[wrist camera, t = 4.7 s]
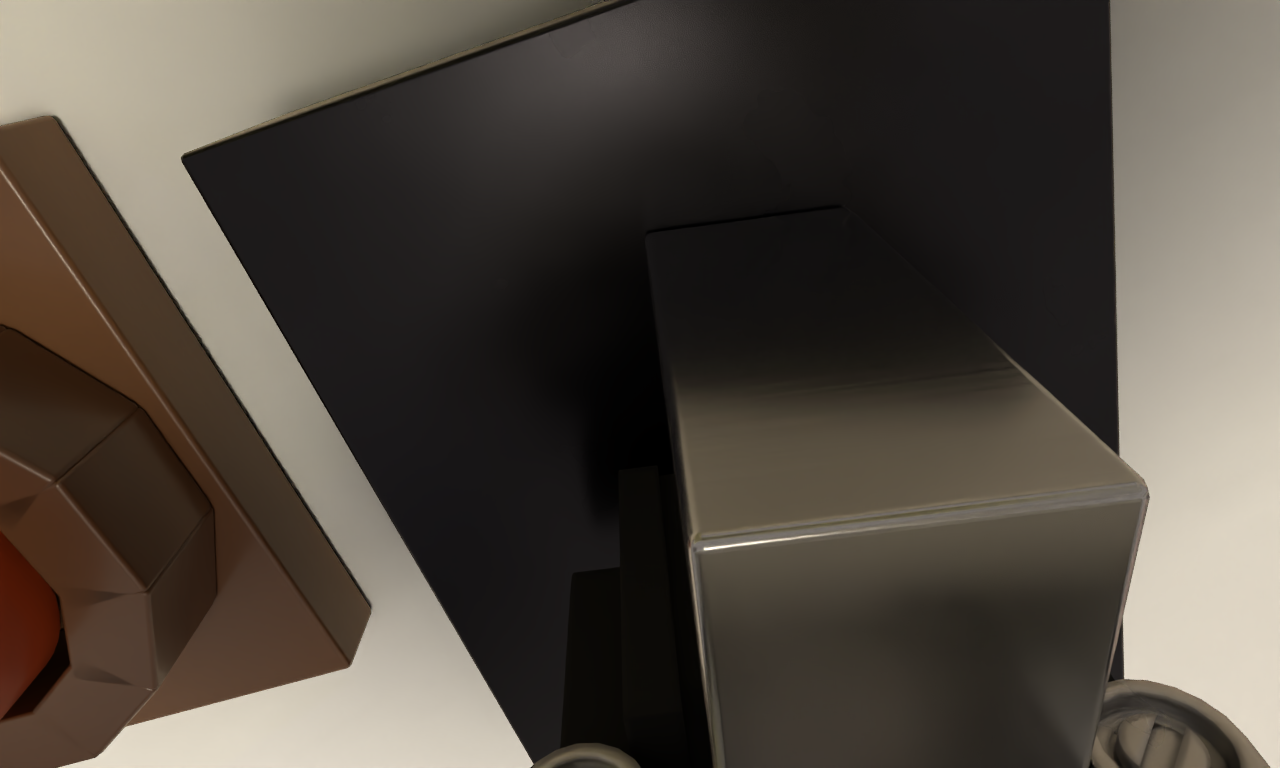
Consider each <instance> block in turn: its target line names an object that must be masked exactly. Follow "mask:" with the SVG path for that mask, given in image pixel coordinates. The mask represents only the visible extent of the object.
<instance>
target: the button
mask: <svg viewBox="0 0 1280 768" xmlns="http://www.w3.org/2000/svg"><path fill="white" fill-rule="evenodd" d="M60 626H61V622H60V610H59V606H58V602H57V598H56V595H55V592H54V590H53V589H52V588H51V587H50V586H49V585H48V584H47V582H46V581H45V580H44V579H43V578H42V577H41V576H40V575H39V574H38V572H37V571H36V570H35V569H34V568H33V567H32V566H31V565H30V563H29V562H28V561H27V560H26V559H25V558H24V557H23V556H22V555H21V553H20V552H19V551H18V550H17V549H16V548H15V547H14V546H13V544H12V543H11V542H10V541H9V540H8V539H7V538H6V537H5V536H4V534H3V533H2V532H1V531H0V720H1V719H2V718H3V716H4V715H5V714H6V713H7V712H8V710H9V709H10V708H11V707H12V706H13V704H14V703H15V702H16V701H17V700H18V698H19V697H20V696H21V695H22V694H23V692H24V691H25V690H26V689H27V688H28V686H29V685H30V684H31V683H32V682H33V680H34V679H35V678H36V677H37V676H38V674H39V673H40V672H41V671H42V670H43V668H44V667H45V666H46V665H47V663H48V662H49V660H50V658H51V657H52V655H53V654H54V651H55V648H56V646H57V643H58V640H59V633H60Z"/></svg>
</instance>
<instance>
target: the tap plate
mask: <svg viewBox="0 0 1280 768" xmlns="http://www.w3.org/2000/svg"><path fill="white" fill-rule="evenodd" d="M181 161H182V163H183V165H184V167H185V168H186V170H187V172H188V173H189V175H190V177H191V178H192V180H193V182H194V184H195V185H196V187H197V189H198V190H199V192H200V194H201V196H202V197H203V199H204V201H205V202H206V204H207V206H208V208H209V209H210V211H211V213H212V214H213V216H214V218H215V220H216V221H217V223H218V225H219V226H220V228H221V230H222V232H223V233H224V235H225V237H226V238H227V240H228V242H229V243H230V245H231V247H232V249H233V250H234V252H235V254H236V255H237V257H238V259H239V261H240V262H241V264H242V266H243V267H244V269H245V271H246V273H247V274H248V276H249V278H250V279H251V281H252V283H253V285H254V286H255V288H256V290H257V291H258V293H259V295H260V297H261V298H262V300H263V302H264V303H265V305H266V307H267V308H268V310H269V312H270V314H271V315H272V317H273V319H274V320H275V322H276V324H277V326H278V327H279V329H280V331H281V332H282V334H283V336H284V338H285V339H286V341H287V343H288V344H289V346H290V348H291V350H292V351H293V353H294V355H295V356H296V358H297V360H298V362H299V363H300V365H301V367H302V368H303V370H304V372H305V373H306V375H307V377H308V379H309V380H310V382H311V384H312V385H313V387H314V389H315V391H316V392H317V394H318V396H319V397H320V399H321V401H322V403H323V404H324V406H325V408H326V409H327V411H328V413H329V415H330V416H331V418H332V420H333V421H334V423H335V425H336V427H337V428H338V430H339V432H340V433H341V435H342V437H343V438H344V440H345V442H346V444H347V445H348V447H349V449H350V450H351V452H352V454H353V456H354V457H355V459H356V461H357V462H358V464H359V466H360V468H361V469H362V471H363V473H364V474H365V476H366V478H367V480H368V481H369V483H370V485H371V486H372V488H373V490H374V492H375V493H376V495H377V497H378V498H379V500H380V502H381V503H382V505H383V507H384V509H385V510H386V512H387V514H388V515H389V517H390V519H391V521H392V522H393V524H394V526H395V527H396V529H397V531H398V533H399V534H400V536H401V538H402V539H403V541H404V543H405V545H406V546H407V548H408V550H409V551H410V553H411V555H412V557H413V558H414V560H415V562H416V563H417V565H418V567H419V568H420V570H421V572H422V574H423V575H424V577H425V579H426V580H427V582H428V584H429V586H430V587H431V589H432V591H433V592H434V594H435V596H436V598H437V599H438V601H439V603H440V604H441V606H442V608H443V610H444V611H445V613H446V615H447V616H448V618H449V620H450V621H451V623H452V625H453V627H454V628H455V630H456V632H457V633H458V635H459V637H460V639H461V640H462V642H463V644H464V645H465V647H466V649H467V651H468V652H469V654H470V656H471V657H472V659H473V661H474V663H475V664H476V666H477V668H478V669H479V671H480V673H481V675H482V676H483V678H484V680H485V681H486V683H487V685H488V686H489V688H490V690H491V692H492V693H493V695H494V697H495V698H496V700H497V702H498V704H499V705H500V707H501V709H502V710H503V712H504V714H505V716H506V717H507V719H508V721H509V722H510V724H511V726H512V728H513V729H514V731H515V733H516V734H517V736H518V738H519V740H520V741H521V743H522V745H523V746H524V748H525V750H526V751H527V753H528V755H529V757H530V758H531V760H532V762H533V763H534V764H535V763H536V762H537V761H539V760H540V759H542V758H544V757H545V756H547V755H548V754H550V753H552V752H553V751H555V750H557V749H560V743H561V728H562V712H563V697H564V681H565V666H566V651H567V635H568V620H569V604H570V589H571V579H572V575H573V573H575V572H583V571H591V570H599V569H607V568H615V567H620V537H619V482H618V471H619V470H623V469H631V468H639V467H647V466H655V465H657V466H658V471H659V475H667V474H674V470H673V462H672V454H671V446H670V438H669V430H668V422H667V414H666V407H665V399H664V391H663V383H662V375H661V367H660V359H659V352H658V344H657V336H656V328H655V320H654V312H653V304H652V296H651V289H650V281H649V273H648V265H647V257H646V249H645V238H646V236H647V235H648V234H650V233H653V232H660V231H668V230H675V229H683V228H690V227H697V226H705V225H712V224H720V223H727V222H735V221H742V220H750V219H757V218H765V217H772V216H780V215H787V214H795V213H802V212H810V211H817V210H825V209H832V208H839V207H846V208H850V209H851V210H852V211H853V212H854V213H855V214H856V215H857V216H858V217H860V218H861V219H862V220H863V221H864V222H865V223H866V224H867V225H868V226H869V227H870V228H872V229H873V230H874V231H875V232H876V233H877V234H878V235H879V236H880V237H881V238H882V239H883V240H885V241H886V242H887V243H888V244H889V245H890V246H891V247H892V248H893V249H894V250H895V251H896V252H898V253H899V254H900V255H901V256H902V257H903V258H904V259H905V260H906V261H907V262H908V263H910V264H911V265H912V266H913V267H914V268H915V269H916V270H917V271H918V272H919V273H920V274H921V275H923V276H924V277H925V278H926V279H927V280H928V281H929V282H930V283H931V284H932V285H933V286H934V287H936V288H937V289H938V290H939V291H940V292H941V293H942V294H943V295H944V296H945V297H946V298H948V299H949V300H950V301H951V302H952V303H953V304H954V305H955V306H956V307H957V308H958V309H959V310H961V311H962V312H963V313H964V314H965V315H966V316H967V317H968V318H969V319H970V320H971V321H972V322H974V323H975V324H976V325H977V326H978V327H979V328H980V329H981V330H982V331H983V332H984V333H985V334H987V335H988V336H989V337H990V338H991V339H992V340H993V341H994V342H995V343H996V344H997V345H999V346H1000V347H1001V348H1002V349H1003V350H1004V351H1005V352H1006V353H1007V354H1008V355H1009V356H1010V357H1012V358H1013V359H1014V360H1015V361H1016V362H1017V363H1018V364H1019V365H1020V366H1021V367H1022V368H1023V369H1025V370H1026V371H1027V372H1028V373H1029V374H1030V375H1031V376H1032V377H1033V378H1034V379H1035V380H1037V381H1038V382H1039V383H1040V384H1041V385H1042V386H1043V387H1044V388H1045V389H1046V390H1047V391H1048V392H1050V393H1051V394H1052V395H1053V396H1054V397H1055V398H1056V399H1057V400H1058V401H1059V402H1060V403H1061V404H1063V405H1064V406H1065V407H1066V408H1067V409H1068V410H1069V411H1070V412H1071V413H1072V414H1073V415H1075V416H1076V417H1077V418H1078V419H1079V420H1080V421H1081V422H1082V423H1083V424H1084V425H1085V426H1086V427H1088V428H1089V429H1090V430H1091V431H1092V432H1093V433H1094V434H1095V435H1096V436H1097V437H1098V438H1099V439H1101V440H1102V441H1103V442H1104V443H1105V444H1106V445H1107V446H1108V447H1109V448H1110V449H1111V450H1113V451H1114V452H1115V453H1116V454H1117V455H1118V456H1119V410H1118V361H1117V313H1116V265H1115V217H1114V168H1113V120H1112V72H1111V24H1110V0H607V1H604V2H601V3H599V4H596V5H593V6H590V7H587V8H584V9H582V10H579V11H576V12H573V13H570V14H567V15H565V16H562V17H559V18H556V19H553V20H550V21H548V22H545V23H542V24H539V25H536V26H533V27H531V28H528V29H525V30H522V31H519V32H516V33H514V34H511V35H508V36H505V37H502V38H499V39H497V40H494V41H491V42H488V43H485V44H482V45H480V46H477V47H474V48H471V49H468V50H465V51H463V52H460V53H457V54H454V55H451V56H448V57H446V58H443V59H440V60H437V61H434V62H432V63H429V64H426V65H423V66H420V67H417V68H415V69H412V70H409V71H406V72H403V73H400V74H398V75H395V76H392V77H389V78H386V79H383V80H381V81H378V82H375V83H372V84H369V85H366V86H364V87H361V88H358V89H355V90H352V91H349V92H347V93H344V94H341V95H338V96H335V97H332V98H330V99H327V100H324V101H321V102H318V103H315V104H313V105H310V106H307V107H304V108H301V109H298V110H296V111H293V112H290V113H287V114H284V115H282V116H279V117H276V118H274V119H271V120H269V121H266V122H264V123H261V124H259V125H256V126H253V127H251V128H248V129H246V130H243V131H241V132H238V133H236V134H233V135H230V136H228V137H225V138H223V139H220V140H218V141H215V142H212V143H210V144H207V145H205V146H202V147H200V148H197V149H195V150H192V151H189V152H187V153H184V154H183V156H182V157H181ZM1110 674H1111V675H1112V677H1113V678H1114V679H1115V681H1117V680H1121V679H1124V651H1123V618H1122V622H1121V627H1120V631H1119V635H1118V640H1117V644H1116V649H1115V653H1114V658H1113V662H1112V667H1111V671H1110Z"/></svg>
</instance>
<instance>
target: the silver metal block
mask: <svg viewBox="0 0 1280 768" xmlns="http://www.w3.org/2000/svg"><path fill="white" fill-rule="evenodd" d="M645 249H646V257H647V265H648V273H649V281H650V289H651V296H652V304H653V312H654V320H655V328H656V336H657V344H658V352H659V359H660V367H661V375H662V383H663V391H664V399H665V407H666V414H667V422H668V430H669V438H670V446H671V454H672V462H673V470H674V476H675V484H676V492H677V499H678V507H679V514H680V522H681V529H682V537H683V544H684V552H685V559H686V567H687V575H688V582H689V590H690V597H691V605H692V612H693V620H694V627H695V635H696V642H697V650H698V658H699V665H700V673H701V680H702V688H703V695H704V703H705V711H706V719H707V727H708V734H709V742H710V750H711V758H712V766H713V768H1089V764H1090V760H1091V755H1092V751H1093V746H1094V742H1095V737H1096V733H1097V729H1098V724H1099V720H1100V715H1101V711H1102V706H1103V702H1104V698H1105V693H1106V689H1107V684H1108V680H1109V675H1110V671H1111V667H1112V662H1113V658H1114V653H1115V649H1116V644H1117V640H1118V635H1119V631H1120V627H1121V622H1122V618H1123V613H1124V609H1125V604H1126V600H1127V596H1128V591H1129V587H1130V582H1131V578H1132V573H1133V569H1134V565H1135V560H1136V556H1137V551H1138V547H1139V542H1140V538H1141V534H1142V529H1143V525H1144V520H1145V516H1146V511H1147V507H1148V503H1149V498H1150V497H1149V492H1148V487H1147V485H1146V483H1145V481H1144V479H1143V478H1142V477H1141V476H1140V475H1139V474H1137V473H1136V472H1135V471H1134V470H1133V469H1132V468H1131V467H1130V466H1129V465H1128V464H1127V463H1126V462H1124V461H1123V460H1122V459H1121V458H1120V457H1119V456H1118V455H1117V454H1116V453H1115V452H1114V451H1113V450H1111V449H1110V448H1109V447H1108V446H1107V445H1106V444H1105V443H1104V442H1103V441H1102V440H1101V439H1099V438H1098V437H1097V436H1096V435H1095V434H1094V433H1093V432H1092V431H1091V430H1090V429H1089V428H1088V427H1086V426H1085V425H1084V424H1083V423H1082V422H1081V421H1080V420H1079V419H1078V418H1077V417H1076V416H1075V415H1073V414H1072V413H1071V412H1070V411H1069V410H1068V409H1067V408H1066V407H1065V406H1064V405H1063V404H1061V403H1060V402H1059V401H1058V400H1057V399H1056V398H1055V397H1054V396H1053V395H1052V394H1051V393H1050V392H1048V391H1047V390H1046V389H1045V388H1044V387H1043V386H1042V385H1041V384H1040V383H1039V382H1038V381H1037V380H1035V379H1034V378H1033V377H1032V376H1031V375H1030V374H1029V373H1028V372H1027V371H1026V370H1025V369H1023V368H1022V367H1021V366H1020V365H1019V364H1018V363H1017V362H1016V361H1015V360H1014V359H1013V358H1012V357H1010V356H1009V355H1008V354H1007V353H1006V352H1005V351H1004V350H1003V349H1002V348H1001V347H1000V346H999V345H997V344H996V343H995V342H994V341H993V340H992V339H991V338H990V337H989V336H988V335H987V334H985V333H984V332H983V331H982V330H981V329H980V328H979V327H978V326H977V325H976V324H975V323H974V322H972V321H971V320H970V319H969V318H968V317H967V316H966V315H965V314H964V313H963V312H962V311H961V310H959V309H958V308H957V307H956V306H955V305H954V304H953V303H952V302H951V301H950V300H949V299H948V298H946V297H945V296H944V295H943V294H942V293H941V292H940V291H939V290H938V289H937V288H936V287H934V286H933V285H932V284H931V283H930V282H929V281H928V280H927V279H926V278H925V277H924V276H923V275H921V274H920V273H919V272H918V271H917V270H916V269H915V268H914V267H913V266H912V265H911V264H910V263H908V262H907V261H906V260H905V259H904V258H903V257H902V256H901V255H900V254H899V253H898V252H896V251H895V250H894V249H893V248H892V247H891V246H890V245H889V244H888V243H887V242H886V241H885V240H883V239H882V238H881V237H880V236H879V235H878V234H877V233H876V232H875V231H874V230H873V229H872V228H870V227H869V226H868V225H867V224H866V223H865V222H864V221H863V220H862V219H861V218H860V217H858V216H857V215H856V214H855V213H854V212H853V211H852V210H851V209H850V208H846V207H839V208H832V209H825V210H817V211H810V212H802V213H795V214H787V215H780V216H772V217H765V218H757V219H750V220H742V221H735V222H727V223H720V224H712V225H705V226H697V227H690V228H683V229H675V230H668V231H660V232H653V233H650V234H648V235H647V236H646V238H645Z"/></svg>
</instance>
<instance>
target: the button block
mask: <svg viewBox="0 0 1280 768" xmlns="http://www.w3.org/2000/svg"><path fill="white" fill-rule="evenodd" d="M0 531H1V532H2V533H3V534H4V536H5V537H6V538H7V539H8V540H9V541H10V542H11V543H12V544H13V546H14V547H15V548H16V549H17V550H18V551H19V552H20V553H21V555H22V556H23V557H24V558H25V559H26V560H27V561H28V562H29V563H30V565H31V566H32V567H33V568H34V569H35V570H36V571H37V572H38V574H39V575H40V576H41V577H42V578H43V579H44V580H45V581H46V582H47V584H48V585H49V586H50V587H51V588H52V589H53V590H54V592H55V595H56V598H57V602H58V606H59V610H60V622H61V626H60V633H59V640H58V643H57V646H56V648H55V651H54V654H53V655H52V657H51V658H50V660H49V662H48V663H47V665H46V666H45V667H44V668H43V670H42V671H41V672H40V673H39V674H38V676H37V677H36V678H35V679H34V680H33V682H32V683H31V684H30V685H29V686H28V688H27V689H26V690H25V691H24V692H23V694H22V695H21V696H20V697H19V698H18V700H17V701H16V702H15V703H14V704H13V706H12V707H11V708H10V709H9V710H8V712H7V713H6V714H5V715H4V716H3V718H2V719H1V720H0V768H58V767H61V766H65V765H69V764H73V763H77V762H81V761H84V760H88V759H92V758H95V757H97V756H98V755H99V754H100V753H102V752H103V751H104V750H105V749H106V748H107V747H108V745H109V744H110V743H111V742H112V741H113V740H114V739H115V737H116V736H117V735H118V734H119V733H120V732H121V731H122V730H123V728H124V727H126V726H130V725H134V724H138V723H141V722H145V721H149V720H153V719H156V718H160V717H164V716H168V715H172V714H175V713H179V712H183V711H187V710H191V709H194V708H198V707H202V706H206V705H210V704H213V703H217V702H221V701H225V700H228V699H232V698H236V697H240V696H244V695H247V694H251V693H255V692H259V691H263V690H266V689H270V688H274V687H278V686H282V685H285V684H289V683H293V682H297V681H301V680H304V679H308V678H312V677H316V676H319V675H323V674H327V673H331V672H335V671H338V670H342V669H346V668H348V667H350V665H351V664H352V662H353V659H354V656H355V654H356V651H357V649H358V646H359V643H360V641H361V638H362V635H363V633H364V630H365V628H366V625H367V622H368V620H369V617H370V614H371V609H370V607H369V605H368V604H367V602H366V601H365V599H364V598H363V596H362V594H361V593H360V591H359V590H358V588H357V587H356V585H355V584H354V582H353V580H352V579H351V577H350V576H349V574H348V573H347V571H346V570H345V568H344V567H343V565H342V563H341V562H340V560H339V559H338V557H337V556H336V554H335V553H334V551H333V549H332V548H331V546H330V545H329V543H328V542H327V540H326V539H325V537H324V535H323V534H322V532H321V531H320V529H319V528H318V526H317V525H316V523H315V522H314V520H313V518H312V517H311V515H310V514H309V512H308V511H307V509H306V508H305V506H304V504H303V503H302V501H301V500H300V498H299V497H298V495H297V494H296V492H295V490H294V489H293V487H292V486H291V484H290V483H289V481H288V480H287V478H286V477H285V475H284V473H283V472H282V470H281V469H280V467H279V466H278V464H277V463H276V461H275V459H274V458H273V456H272V455H271V453H270V452H269V450H268V449H267V447H266V446H265V444H264V442H263V441H262V439H261V438H260V436H259V435H258V433H257V432H256V430H255V428H254V427H253V425H252V424H251V422H250V421H249V419H248V418H247V416H246V414H245V413H244V411H243V410H242V408H241V407H240V405H239V404H238V402H237V401H236V399H235V397H234V396H233V394H232V393H231V391H230V390H229V388H228V387H227V385H226V383H225V382H224V380H223V379H222V377H221V376H220V374H219V373H218V371H217V369H216V368H215V366H214V365H213V363H212V362H211V360H210V359H209V357H208V356H207V354H206V352H205V351H204V349H203V348H202V346H201V345H200V343H199V342H198V340H197V338H196V337H195V335H194V334H193V332H192V331H191V329H190V328H189V326H188V325H187V323H186V321H185V320H184V318H183V317H182V315H181V314H180V312H179V311H178V309H177V307H176V306H175V304H174V303H173V301H172V300H171V298H170V297H169V295H168V293H167V292H166V290H165V289H164V287H163V286H162V284H161V283H160V281H159V280H158V278H157V276H156V275H155V273H154V272H153V270H152V269H151V267H150V266H149V264H148V262H147V261H146V259H145V258H144V256H143V255H142V253H141V252H140V250H139V248H138V247H137V245H136V244H135V242H134V241H133V239H132V238H131V236H130V235H129V233H128V231H127V230H126V228H125V227H124V225H123V224H122V222H121V221H120V219H119V217H118V216H117V214H116V213H115V211H114V210H113V208H112V207H111V205H110V204H109V202H108V200H107V199H106V197H105V196H104V194H103V193H102V191H101V190H100V188H99V186H98V185H97V183H96V182H95V180H94V179H93V177H92V176H91V174H90V172H89V171H88V169H87V168H86V166H85V165H84V163H83V162H82V160H81V159H80V157H79V155H78V154H77V152H76V151H75V149H74V148H73V146H72V145H71V143H70V141H69V140H68V138H67V137H66V135H65V134H64V132H63V131H62V129H61V127H60V126H59V124H58V123H57V121H56V120H55V119H54V118H53V117H50V116H41V117H37V118H33V119H28V120H24V121H20V122H15V123H11V124H6V125H2V126H0Z"/></svg>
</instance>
